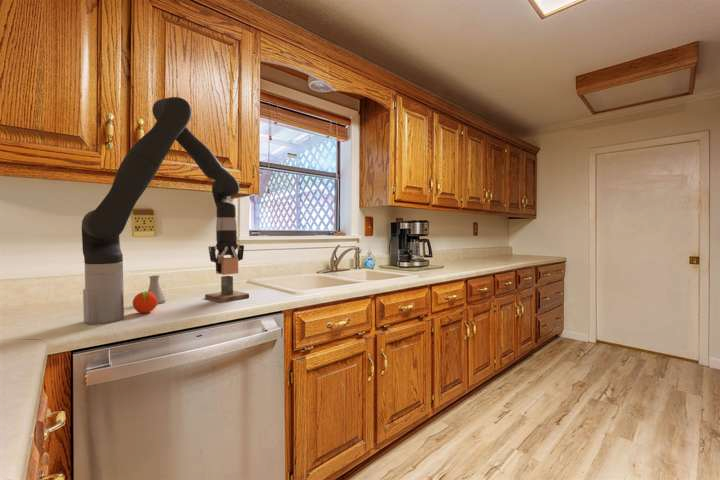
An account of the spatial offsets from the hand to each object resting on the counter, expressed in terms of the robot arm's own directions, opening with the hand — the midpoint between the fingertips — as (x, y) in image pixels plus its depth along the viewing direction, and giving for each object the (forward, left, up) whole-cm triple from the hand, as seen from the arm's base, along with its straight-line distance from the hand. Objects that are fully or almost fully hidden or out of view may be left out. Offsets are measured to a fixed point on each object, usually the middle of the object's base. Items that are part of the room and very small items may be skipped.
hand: (227, 271), depth 138 cm
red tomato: (-30, -3, -11) cm, 32 cm away
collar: (0, 0, -1) cm, 1 cm away
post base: (0, 0, -10) cm, 10 cm away
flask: (-22, +12, -11) cm, 27 cm away
